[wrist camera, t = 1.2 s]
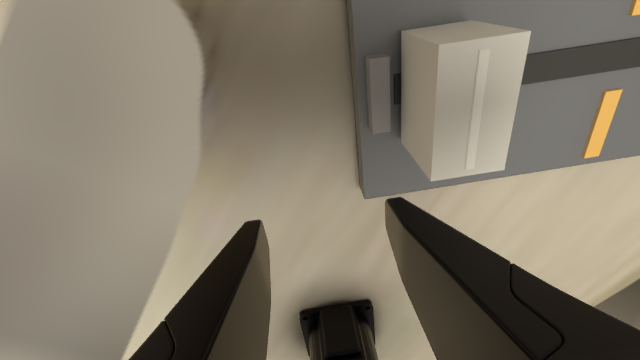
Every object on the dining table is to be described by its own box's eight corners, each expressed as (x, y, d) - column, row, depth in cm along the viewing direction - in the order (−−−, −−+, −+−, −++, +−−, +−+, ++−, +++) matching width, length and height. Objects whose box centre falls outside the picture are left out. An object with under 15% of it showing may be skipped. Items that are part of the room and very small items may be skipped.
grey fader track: (692, 134, 23) (734, 149, 21) (360, 187, 23) (368, 208, 21) (825, -129, 16) (909, -147, 14) (342, -59, 16) (351, -66, 13)
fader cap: (459, 132, 19) (505, 170, 15) (401, 142, 19) (431, 182, 15) (471, 20, 16) (533, 31, 12) (401, 30, 16) (440, 45, 12)
